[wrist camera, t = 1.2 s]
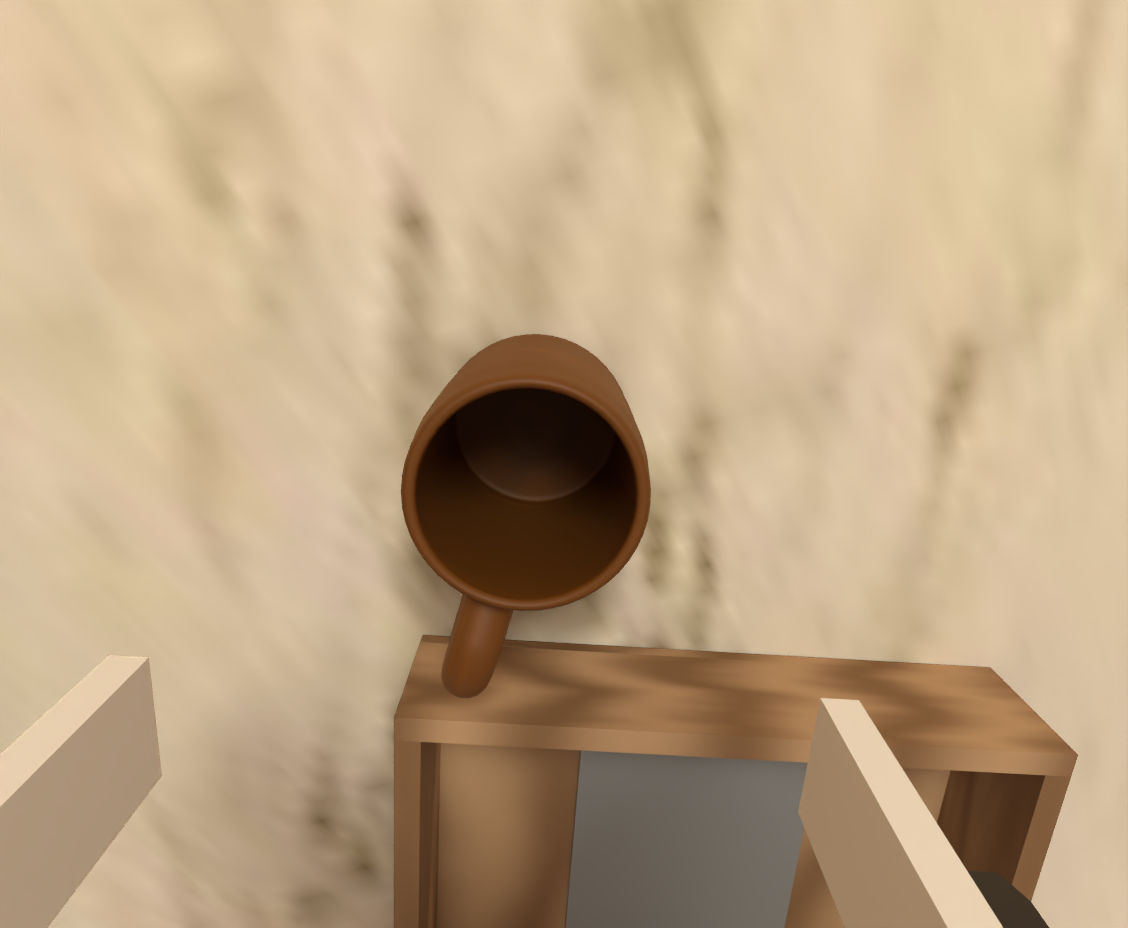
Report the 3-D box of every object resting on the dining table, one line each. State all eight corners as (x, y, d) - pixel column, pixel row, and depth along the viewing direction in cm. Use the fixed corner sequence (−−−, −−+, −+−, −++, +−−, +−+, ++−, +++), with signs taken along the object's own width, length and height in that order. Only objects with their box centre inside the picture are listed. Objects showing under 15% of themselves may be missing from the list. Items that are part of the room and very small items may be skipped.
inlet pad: (564, 936, 38) (564, 941, 37) (586, 680, 33) (587, 684, 33) (777, 946, 38) (779, 951, 38) (827, 694, 34) (830, 698, 33)
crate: (418, 941, 39) (394, 1064, 33) (422, 635, 33) (394, 717, 28) (910, 964, 39) (970, 1089, 33) (990, 667, 34) (1077, 754, 28)
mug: (562, 617, 33) (563, 759, 24) (397, 570, 32) (334, 697, 23) (654, 364, 30) (694, 418, 21) (472, 304, 29) (433, 334, 20)
